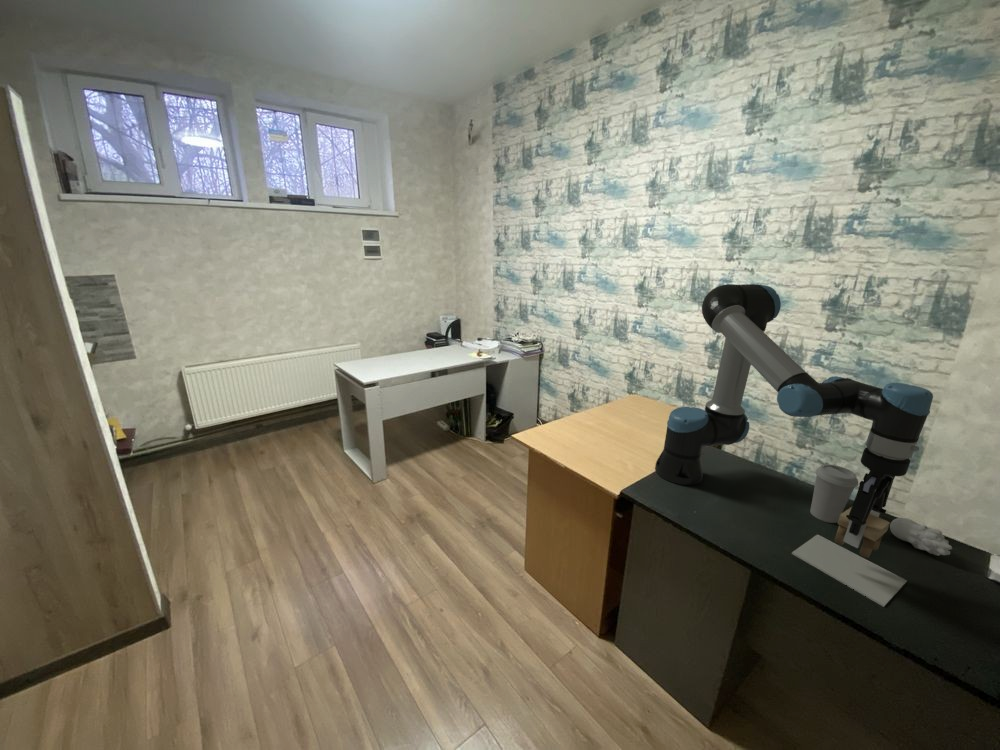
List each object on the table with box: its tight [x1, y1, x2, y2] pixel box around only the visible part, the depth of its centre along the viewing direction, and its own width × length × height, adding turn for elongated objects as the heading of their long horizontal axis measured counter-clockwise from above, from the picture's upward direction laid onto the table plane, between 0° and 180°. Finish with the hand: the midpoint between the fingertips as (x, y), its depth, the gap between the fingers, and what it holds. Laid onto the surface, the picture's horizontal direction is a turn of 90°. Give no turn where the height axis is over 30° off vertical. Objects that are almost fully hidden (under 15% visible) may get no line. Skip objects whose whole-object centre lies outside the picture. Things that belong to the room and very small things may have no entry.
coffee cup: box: [809, 463, 859, 524], centre depth 112 cm, size 10×10×15 cm
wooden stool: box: [833, 506, 891, 559], centre depth 92 cm, size 7×7×8 cm
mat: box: [791, 534, 908, 608], centre depth 95 cm, size 18×14×1 cm
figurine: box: [889, 517, 953, 556], centre depth 102 cm, size 7×7×12 cm
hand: (857, 538), depth 93 cm, fingers closed on wooden stool, 7 cm apart
